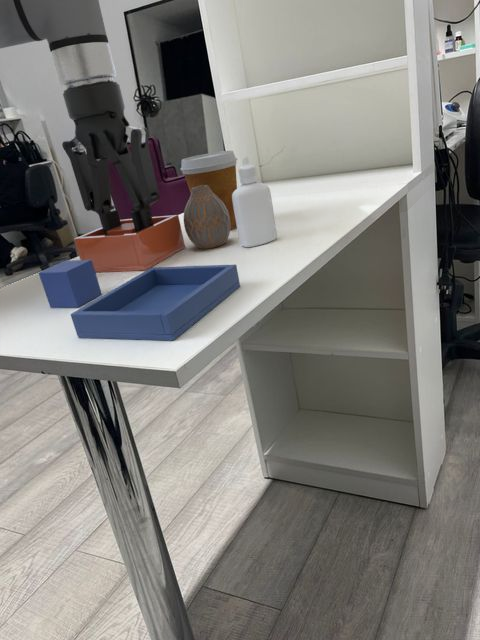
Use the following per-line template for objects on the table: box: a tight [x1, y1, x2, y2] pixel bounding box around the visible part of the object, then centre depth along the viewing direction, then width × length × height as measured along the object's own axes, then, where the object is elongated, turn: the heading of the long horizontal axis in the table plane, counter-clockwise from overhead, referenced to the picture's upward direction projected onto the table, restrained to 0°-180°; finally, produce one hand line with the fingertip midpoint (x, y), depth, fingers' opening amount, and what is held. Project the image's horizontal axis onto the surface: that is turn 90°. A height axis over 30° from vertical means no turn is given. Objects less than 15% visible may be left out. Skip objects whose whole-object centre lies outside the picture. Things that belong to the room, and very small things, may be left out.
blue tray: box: [69, 264, 241, 341], centre depth 58 cm, size 12×15×3 cm
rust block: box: [107, 223, 136, 235], centre depth 81 cm, size 4×4×4 cm
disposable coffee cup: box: [179, 150, 238, 230], centre depth 91 cm, size 10×10×12 cm
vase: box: [183, 185, 231, 250], centre depth 81 cm, size 7×7×9 cm
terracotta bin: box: [73, 214, 186, 273], centre depth 81 cm, size 11×11×5 cm
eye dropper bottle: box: [232, 156, 278, 248], centre depth 77 cm, size 4×6×12 cm
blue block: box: [38, 259, 103, 309], centre depth 66 cm, size 4×4×4 cm
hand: (135, 253), depth 82 cm, fingers closed on rust block, 4 cm apart
